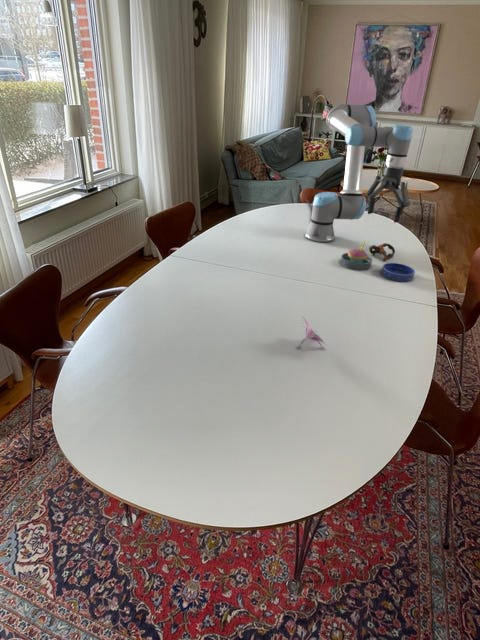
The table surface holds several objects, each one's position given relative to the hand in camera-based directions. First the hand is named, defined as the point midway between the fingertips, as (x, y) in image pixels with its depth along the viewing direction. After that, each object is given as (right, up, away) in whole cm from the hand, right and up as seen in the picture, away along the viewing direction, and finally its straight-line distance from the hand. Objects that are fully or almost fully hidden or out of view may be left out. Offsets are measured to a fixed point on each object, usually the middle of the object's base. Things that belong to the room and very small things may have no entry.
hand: (382, 217), depth 187 cm
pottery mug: (+6, -14, +23) cm, 28 cm away
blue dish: (+8, -24, +5) cm, 26 cm away
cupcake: (-8, -18, +14) cm, 24 cm away
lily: (-40, -53, -49) cm, 82 cm away
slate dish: (-8, -19, +14) cm, 25 cm away
